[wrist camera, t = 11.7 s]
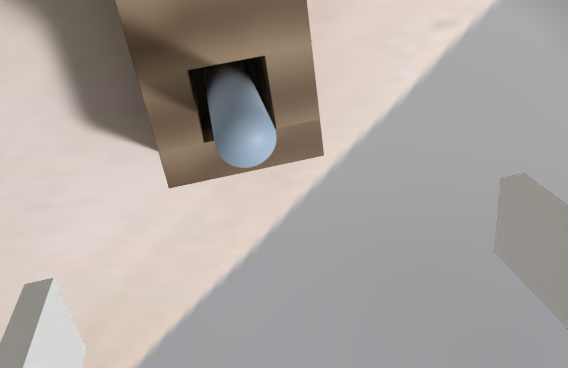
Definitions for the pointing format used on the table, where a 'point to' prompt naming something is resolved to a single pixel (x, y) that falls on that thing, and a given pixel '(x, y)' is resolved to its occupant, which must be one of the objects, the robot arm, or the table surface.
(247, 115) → the dowel
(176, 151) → the socket block
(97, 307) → the table surface
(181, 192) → the table surface
